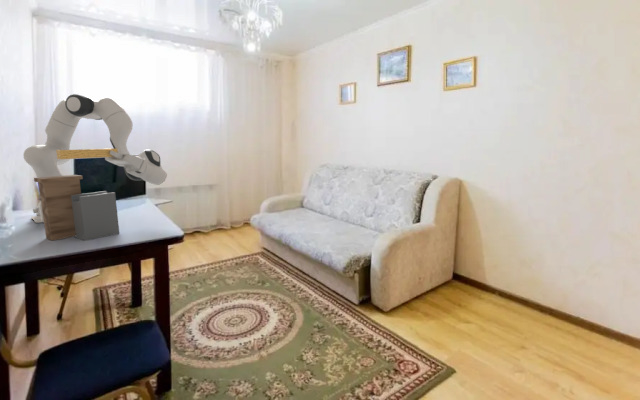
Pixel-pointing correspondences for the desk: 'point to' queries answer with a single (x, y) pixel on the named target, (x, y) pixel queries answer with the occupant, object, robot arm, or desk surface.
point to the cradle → (95, 215)
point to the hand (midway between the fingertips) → (106, 151)
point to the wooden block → (84, 153)
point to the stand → (58, 204)
